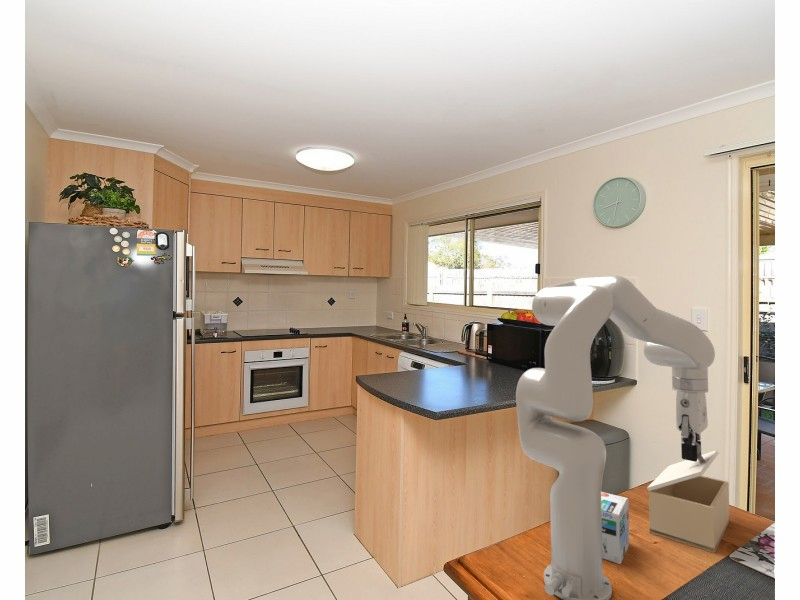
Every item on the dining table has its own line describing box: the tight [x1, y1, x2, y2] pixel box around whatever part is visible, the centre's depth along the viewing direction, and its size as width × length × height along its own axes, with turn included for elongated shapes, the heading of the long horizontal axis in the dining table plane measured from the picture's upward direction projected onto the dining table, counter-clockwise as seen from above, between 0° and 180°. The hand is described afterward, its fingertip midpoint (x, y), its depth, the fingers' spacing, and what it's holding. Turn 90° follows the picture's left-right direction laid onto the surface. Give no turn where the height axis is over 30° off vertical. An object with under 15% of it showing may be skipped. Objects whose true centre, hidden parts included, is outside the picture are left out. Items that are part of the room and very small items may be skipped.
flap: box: [646, 442, 719, 492], centre depth 111 cm, size 20×13×6 cm
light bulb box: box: [601, 491, 630, 565], centre depth 100 cm, size 11×7×11 cm, turn 143°
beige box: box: [648, 475, 730, 554], centre depth 109 cm, size 20×13×10 cm, turn 135°
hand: (691, 457), depth 109 cm, fingers closed on flap, 3 cm apart
